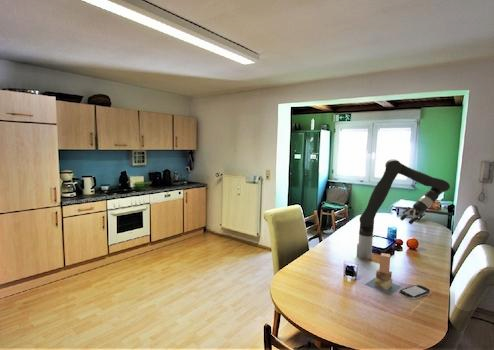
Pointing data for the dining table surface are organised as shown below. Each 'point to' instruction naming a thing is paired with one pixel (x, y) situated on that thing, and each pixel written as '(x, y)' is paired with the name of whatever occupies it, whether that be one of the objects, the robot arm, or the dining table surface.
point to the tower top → (383, 276)
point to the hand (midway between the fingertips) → (405, 221)
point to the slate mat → (388, 291)
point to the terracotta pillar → (384, 263)
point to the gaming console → (414, 292)
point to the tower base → (383, 283)
